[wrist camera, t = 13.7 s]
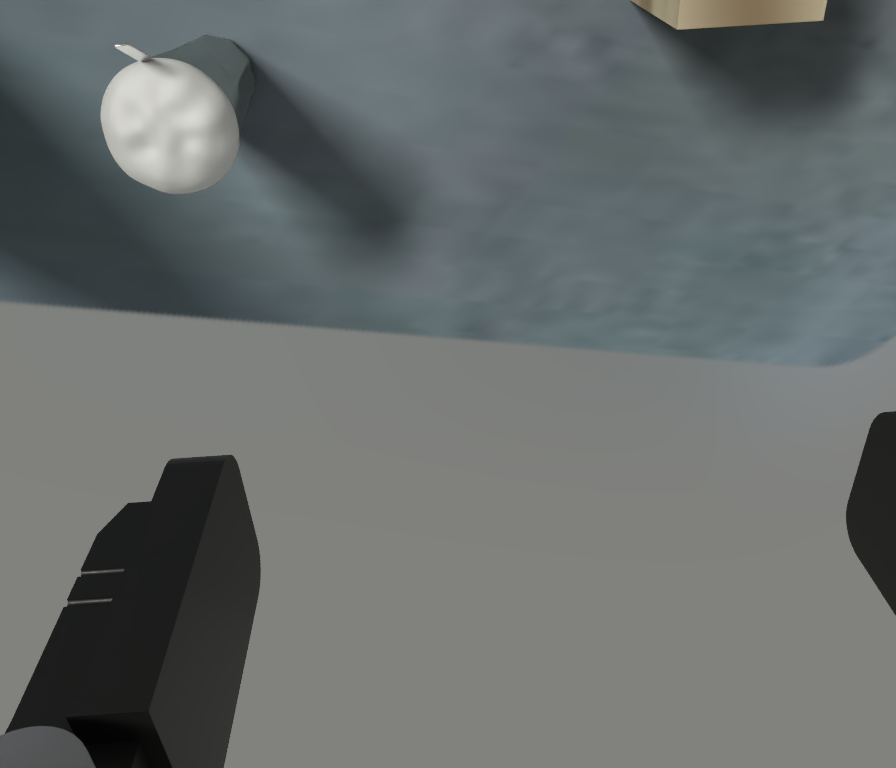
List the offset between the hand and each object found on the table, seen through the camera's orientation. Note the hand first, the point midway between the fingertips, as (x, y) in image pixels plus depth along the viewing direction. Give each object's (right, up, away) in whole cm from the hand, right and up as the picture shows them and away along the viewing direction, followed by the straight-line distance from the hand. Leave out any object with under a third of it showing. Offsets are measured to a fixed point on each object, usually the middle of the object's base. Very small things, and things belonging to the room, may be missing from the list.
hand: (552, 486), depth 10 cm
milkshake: (-11, +15, +24) cm, 30 cm away
